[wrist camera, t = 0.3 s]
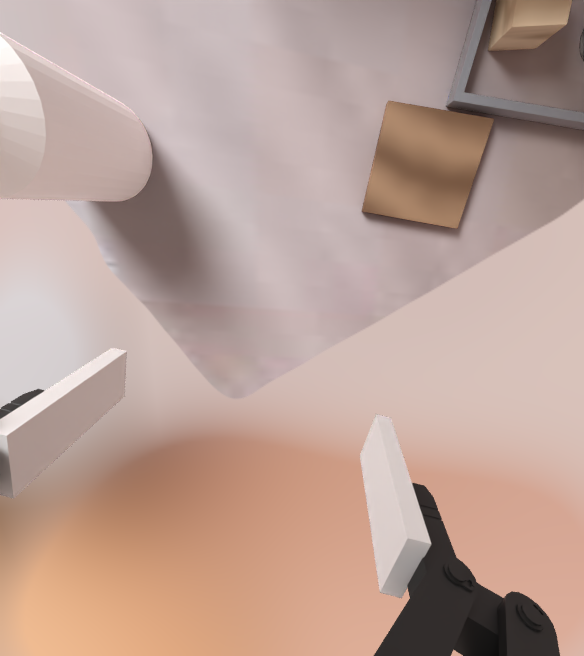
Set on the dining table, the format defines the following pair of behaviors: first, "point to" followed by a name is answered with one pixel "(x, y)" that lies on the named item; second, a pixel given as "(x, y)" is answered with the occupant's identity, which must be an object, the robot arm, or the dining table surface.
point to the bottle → (65, 134)
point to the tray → (496, 104)
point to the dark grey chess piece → (582, 45)
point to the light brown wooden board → (425, 163)
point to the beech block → (526, 23)
